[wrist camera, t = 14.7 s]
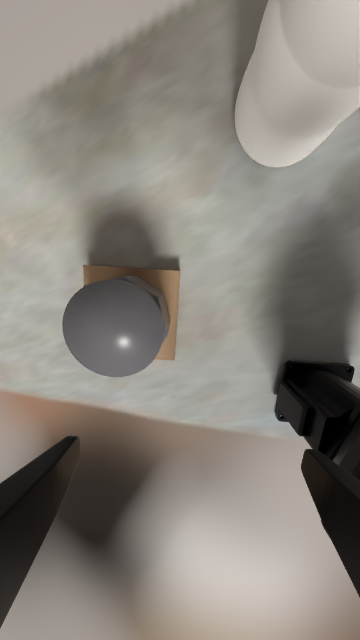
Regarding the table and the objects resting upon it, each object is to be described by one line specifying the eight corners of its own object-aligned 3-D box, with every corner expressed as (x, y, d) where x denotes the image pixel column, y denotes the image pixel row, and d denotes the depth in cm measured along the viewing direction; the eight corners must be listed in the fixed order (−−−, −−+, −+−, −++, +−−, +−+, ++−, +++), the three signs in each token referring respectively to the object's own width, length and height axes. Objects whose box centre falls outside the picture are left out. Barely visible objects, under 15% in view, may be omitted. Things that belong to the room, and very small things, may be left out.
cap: (84, 287, 17) (47, 293, 13) (157, 270, 17) (148, 268, 12) (107, 356, 19) (81, 385, 14) (175, 341, 18) (173, 366, 14)
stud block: (179, 270, 18) (179, 270, 14) (174, 355, 20) (172, 379, 16) (89, 265, 18) (58, 262, 14) (92, 350, 20) (66, 373, 15)
